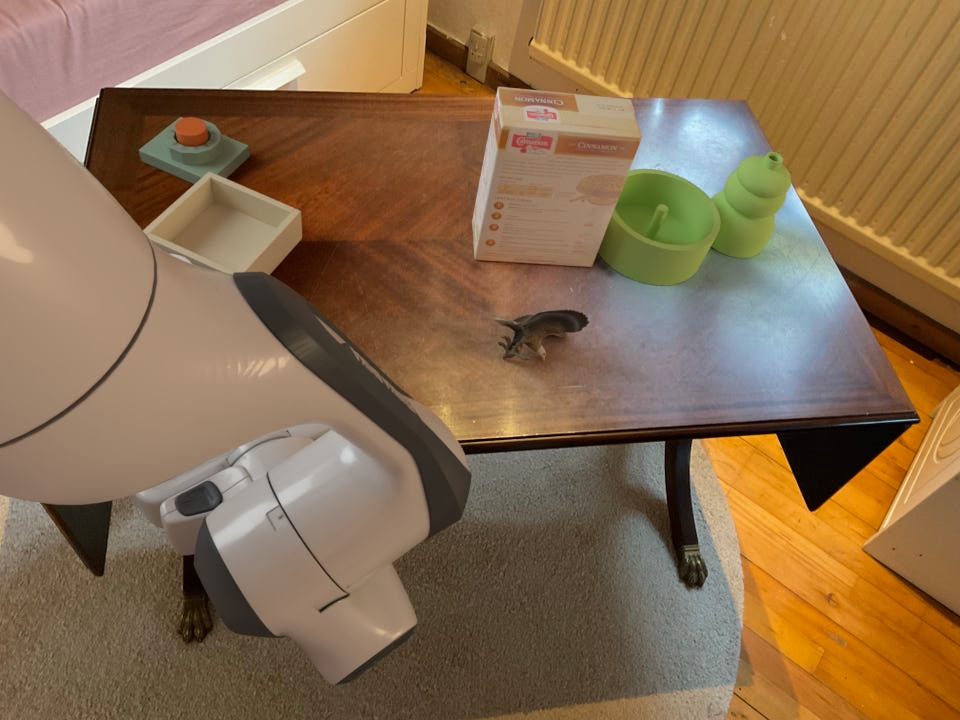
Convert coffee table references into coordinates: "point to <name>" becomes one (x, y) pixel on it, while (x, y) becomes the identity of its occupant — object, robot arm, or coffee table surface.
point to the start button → (191, 132)
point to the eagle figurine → (539, 330)
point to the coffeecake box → (552, 176)
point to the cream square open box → (227, 227)
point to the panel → (194, 154)
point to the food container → (692, 220)
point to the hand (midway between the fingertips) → (205, 365)
